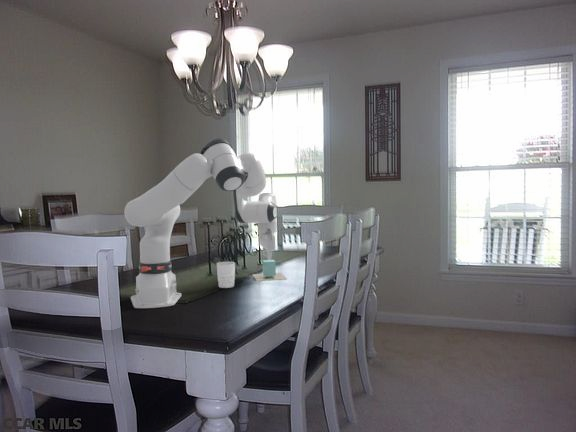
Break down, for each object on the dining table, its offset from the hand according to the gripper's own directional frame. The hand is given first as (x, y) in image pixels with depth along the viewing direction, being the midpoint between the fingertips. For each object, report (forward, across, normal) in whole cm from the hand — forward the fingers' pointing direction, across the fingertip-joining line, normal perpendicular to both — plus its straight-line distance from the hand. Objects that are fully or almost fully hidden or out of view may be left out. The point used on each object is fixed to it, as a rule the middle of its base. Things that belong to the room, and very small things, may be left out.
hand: (267, 257), depth 214 cm
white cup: (+9, -14, +20) cm, 27 cm away
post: (+9, -1, -1) cm, 9 cm away
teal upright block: (+8, -1, -1) cm, 8 cm away
